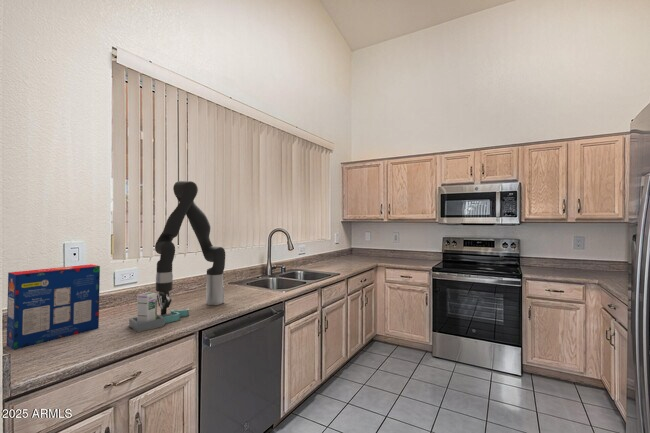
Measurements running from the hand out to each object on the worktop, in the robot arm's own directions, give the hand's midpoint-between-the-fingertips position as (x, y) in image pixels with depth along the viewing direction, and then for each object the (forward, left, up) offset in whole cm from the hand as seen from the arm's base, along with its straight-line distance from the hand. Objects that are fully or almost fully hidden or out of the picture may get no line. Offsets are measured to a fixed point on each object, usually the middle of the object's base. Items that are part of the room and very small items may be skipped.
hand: (163, 315), depth 160 cm
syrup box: (+10, +7, -1) cm, 12 cm away
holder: (+10, +7, -1) cm, 12 cm away
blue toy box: (+41, -5, -1) cm, 41 cm away
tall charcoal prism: (0, +3, -1) cm, 3 cm away
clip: (0, +7, -1) cm, 7 cm away
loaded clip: (-7, +2, -1) cm, 8 cm away
